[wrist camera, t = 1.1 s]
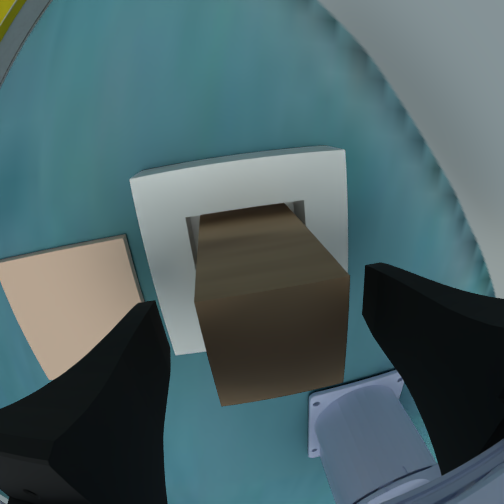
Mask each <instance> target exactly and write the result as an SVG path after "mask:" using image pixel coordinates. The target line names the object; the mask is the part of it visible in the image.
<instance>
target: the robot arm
mask: <svg viewBox="0 0 504 504" xmlns="http://www.w3.org/2000/svg"><path fill="white" fill-rule="evenodd" d="M362 315H363V317H364V319H365V321H366V323H367V325H368V327H369V329H370V331H371V333H372V335H373V337H374V338H375V340H376V341H377V343H378V344H379V345H380V347H381V348H382V350H383V351H384V353H385V354H386V356H387V357H388V359H389V360H390V361H391V363H392V364H393V366H394V367H395V369H396V370H394V371H391V372H387V373H384V374H381V375H378V376H375V377H371V378H368V379H364V380H361V381H357V382H354V383H350V384H347V385H343V386H339V387H335V388H331V389H327V390H323V391H319V392H315V393H313V394H311V395H310V396H309V420H308V456H309V457H310V458H314V457H318V456H320V458H321V461H322V464H323V467H324V470H325V473H326V476H327V479H328V482H329V485H330V488H331V491H332V494H333V497H334V500H335V502H336V504H504V299H500V298H494V297H488V296H483V295H478V294H474V293H470V292H466V291H463V290H459V289H456V288H453V287H449V286H446V285H443V284H440V283H438V282H435V281H432V280H429V279H427V278H424V277H421V276H419V275H416V274H413V273H411V272H408V271H405V270H403V269H400V268H397V267H394V266H392V265H388V264H385V263H375V264H370V265H365V278H364V295H363V309H362ZM169 380H170V346H169V343H168V340H167V337H166V334H165V331H164V328H163V324H162V321H161V318H160V315H159V312H158V308H157V305H156V302H155V301H147V302H140V303H137V304H136V305H135V306H134V307H133V308H132V309H131V310H130V311H129V312H128V313H127V314H126V315H125V316H124V317H123V318H122V319H121V320H120V321H119V323H118V324H117V325H116V326H115V327H114V328H113V329H112V330H111V331H110V332H109V333H108V334H107V335H106V336H105V337H104V338H103V339H102V340H101V341H100V342H99V343H98V344H97V345H96V346H95V347H94V348H93V349H92V350H91V351H90V352H89V353H88V354H86V355H85V356H84V357H83V358H82V359H81V360H80V361H78V362H77V363H76V364H75V365H73V366H72V367H71V368H70V369H68V370H67V371H66V372H64V373H63V374H62V375H60V376H59V377H57V378H56V379H54V380H53V381H51V382H50V383H48V384H47V385H45V386H44V387H42V388H41V389H39V390H37V391H36V392H34V393H32V394H30V395H29V396H27V397H25V398H23V399H21V400H19V401H17V402H15V403H13V404H11V405H9V406H6V407H4V408H1V409H0V489H1V490H2V491H3V492H4V493H5V494H7V495H8V496H9V501H8V504H167V495H166V486H165V472H164V450H163V433H164V421H165V412H166V404H167V396H168V388H169ZM404 382H405V384H406V386H407V387H408V389H409V391H410V393H411V395H412V397H413V399H414V401H415V403H416V406H417V408H418V410H419V412H420V414H421V417H422V419H423V421H424V424H425V426H426V429H427V431H428V434H429V437H430V440H431V442H432V445H433V448H434V451H435V454H436V458H437V461H438V463H436V461H435V460H434V458H433V456H432V454H431V453H430V451H429V449H428V448H427V446H426V444H425V442H424V441H423V439H422V437H421V436H420V434H419V432H418V431H417V429H416V427H415V426H414V424H413V422H412V421H411V419H410V417H409V416H408V414H407V413H406V411H405V409H404V408H403V406H402V404H401V403H400V401H399V398H400V394H401V391H402V387H403V384H404ZM0 504H5V503H3V502H2V501H0Z"/></svg>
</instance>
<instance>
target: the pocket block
mask: <svg viewBox="0 0 504 504" xmlns="http://www.w3.org/2000/svg"><path fill="white" fill-rule="evenodd" d="M130 185H131V190H132V195H133V199H134V204H135V209H136V214H137V218H138V222H139V227H140V231H141V235H142V240H143V244H144V248H145V252H146V256H147V260H148V264H149V268H150V271H151V275H152V279H153V282H154V286H155V290H156V293H157V297H158V300H159V304H160V307H161V310H162V314H163V317H164V320H165V324H166V327H167V330H168V333H169V336H170V340H171V343H172V346H173V349H174V352H175V355H182V354H190V353H198V352H205V351H206V348H205V344H204V341H203V337H202V333H201V329H200V325H199V321H198V316H197V312H196V308H195V304H194V295H195V278H196V262H197V248H198V235H199V223H200V215H203V214H210V213H216V212H223V211H229V210H236V209H242V208H249V207H256V206H263V205H270V204H278V203H285V204H286V205H287V206H288V208H289V209H290V210H291V211H292V212H293V213H294V214H295V215H296V216H297V217H298V218H299V219H300V220H301V222H302V223H303V224H304V225H305V226H306V227H307V228H308V229H309V230H310V231H311V232H312V234H313V235H314V236H315V237H316V238H317V239H318V240H319V241H320V242H321V244H322V245H323V246H324V247H325V248H326V249H327V250H328V251H329V252H330V254H331V255H332V256H333V257H334V258H335V259H336V260H337V261H338V263H339V264H340V265H341V266H342V267H343V268H344V269H345V271H346V272H347V273H348V204H347V176H346V157H345V150H344V149H340V148H335V147H331V146H326V145H323V146H310V147H299V148H288V149H278V150H269V151H260V152H252V153H244V154H237V155H229V156H222V157H216V158H209V159H203V160H196V161H190V162H184V163H179V164H173V165H168V166H162V167H157V168H152V169H147V170H142V171H140V172H139V173H137V174H136V175H135V176H133V177H132V178H130Z"/></svg>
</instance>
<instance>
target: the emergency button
mask: <svg viewBox="0 0 504 504" xmlns="http://www.w3.org/2000/svg"><path fill="white" fill-rule="evenodd" d="M52 1H53V0H0V88H1V86H2V84H3V82H4V80H5V78H6V76H7V74H8V72H9V70H10V68H11V66H12V64H13V62H14V61H15V59H16V57H17V55H18V53H19V52H20V50H21V48H22V46H23V45H24V43H25V41H26V40H27V38H28V36H29V35H30V33H31V31H32V30H33V28H34V27H35V25H36V24H37V22H38V21H39V19H40V18H41V16H42V15H43V13H44V12H45V10H46V9H47V7H48V6H49V5H50V3H51V2H52Z"/></svg>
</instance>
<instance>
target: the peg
mask: <svg viewBox="0 0 504 504" xmlns="http://www.w3.org/2000/svg"><path fill="white" fill-rule="evenodd" d="M349 289H350V275H349V274H348V273H347V272H346V271H345V269H344V268H343V267H342V266H341V265H340V264H339V263H338V261H337V260H336V259H335V258H334V257H333V256H332V255H331V254H330V252H329V251H328V250H327V249H326V248H325V247H324V246H323V245H322V244H321V242H320V241H319V240H318V239H317V238H316V237H315V236H314V235H313V234H312V232H311V231H310V230H309V229H308V228H307V227H306V226H305V225H304V224H303V223H302V222H301V220H300V219H299V218H298V217H297V216H296V215H295V214H294V213H293V212H292V211H291V210H290V209H289V208H288V206H287V205H286V204H285V203H278V204H270V205H263V206H256V207H249V208H242V209H236V210H229V211H223V212H216V213H210V214H203V215H200V223H199V235H198V248H197V262H196V278H195V295H194V304H195V308H196V312H197V316H198V321H199V325H200V329H201V333H202V337H203V341H204V344H205V348H206V352H207V356H208V360H209V363H210V367H211V371H212V374H213V378H214V382H215V385H216V389H217V392H218V396H219V399H220V403H221V406H228V405H235V404H242V403H248V402H254V401H260V400H266V399H271V398H277V397H282V396H287V395H292V394H297V393H301V392H306V391H310V390H315V389H319V388H323V387H327V386H331V385H335V384H339V383H343V379H344V369H345V357H346V344H347V330H348V312H349Z"/></svg>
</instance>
